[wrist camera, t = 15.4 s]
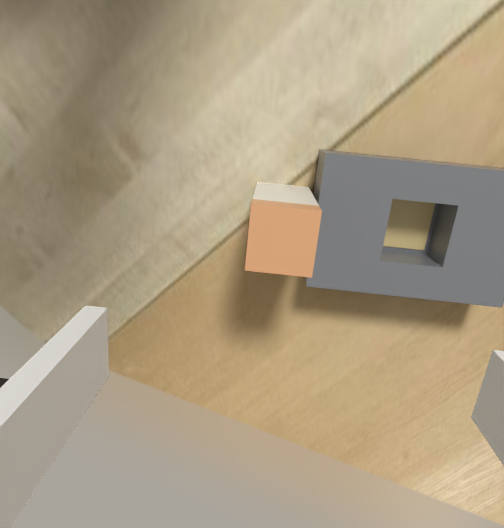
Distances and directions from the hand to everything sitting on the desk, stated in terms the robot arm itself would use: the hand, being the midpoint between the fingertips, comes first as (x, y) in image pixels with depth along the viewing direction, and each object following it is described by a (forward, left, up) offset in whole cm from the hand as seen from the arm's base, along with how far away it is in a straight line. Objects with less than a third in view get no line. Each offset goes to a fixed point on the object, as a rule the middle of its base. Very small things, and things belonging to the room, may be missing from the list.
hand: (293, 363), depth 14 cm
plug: (0, 0, -28) cm, 29 cm away
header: (+12, 0, -28) cm, 31 cm away
